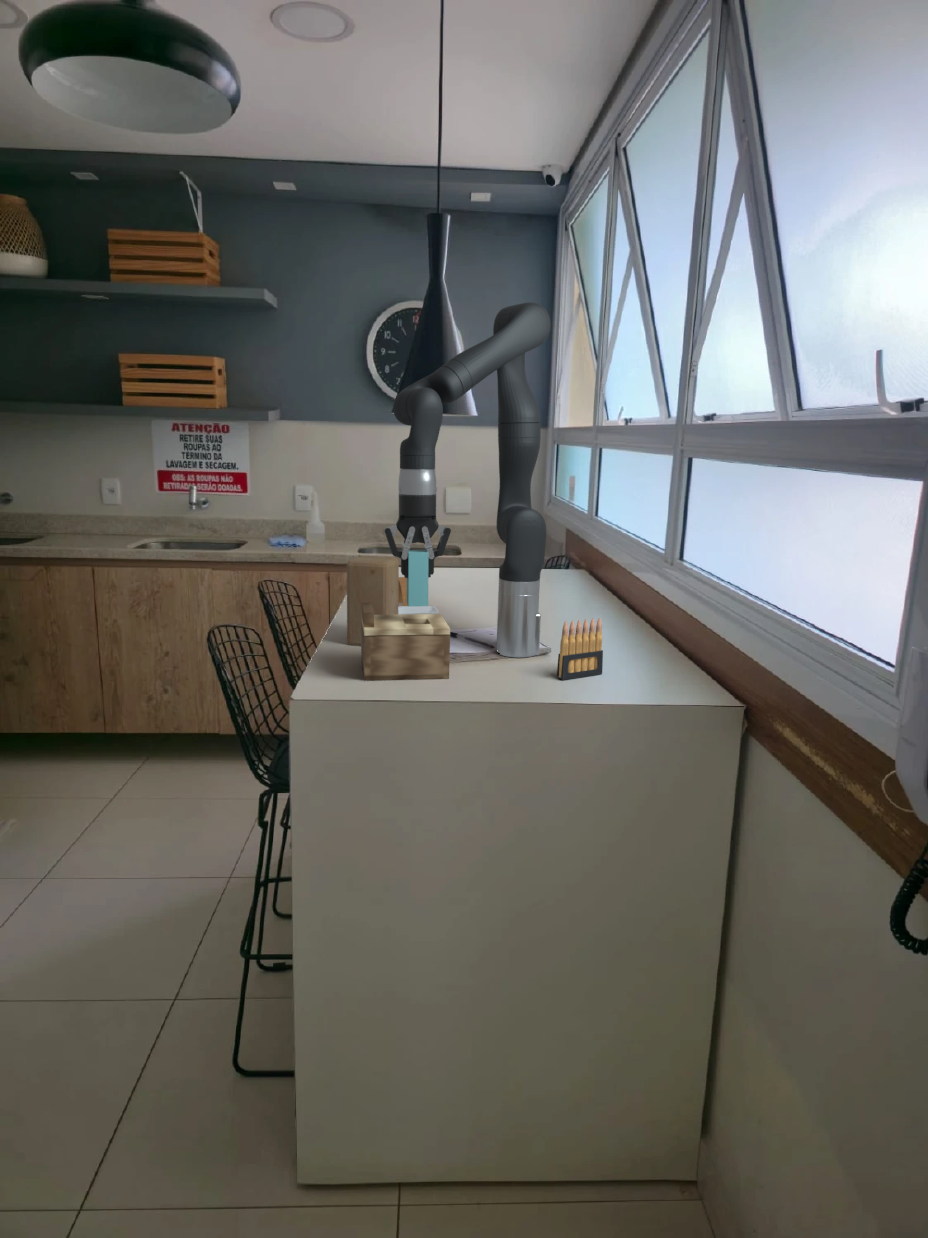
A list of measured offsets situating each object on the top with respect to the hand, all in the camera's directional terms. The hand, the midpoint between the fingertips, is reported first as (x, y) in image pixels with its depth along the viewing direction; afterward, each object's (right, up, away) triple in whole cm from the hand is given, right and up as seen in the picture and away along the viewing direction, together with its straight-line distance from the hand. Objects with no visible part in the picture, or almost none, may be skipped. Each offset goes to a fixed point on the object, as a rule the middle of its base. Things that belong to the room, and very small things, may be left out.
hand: (417, 576), depth 162 cm
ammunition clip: (+34, -21, +3) cm, 40 cm away
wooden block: (-12, -14, +26) cm, 32 cm away
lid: (-3, -10, +2) cm, 11 cm away
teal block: (0, -6, +1) cm, 6 cm away
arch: (-6, -7, +62) cm, 62 cm away
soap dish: (-3, -11, +43) cm, 45 cm away
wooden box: (-3, -19, +4) cm, 20 cm away
